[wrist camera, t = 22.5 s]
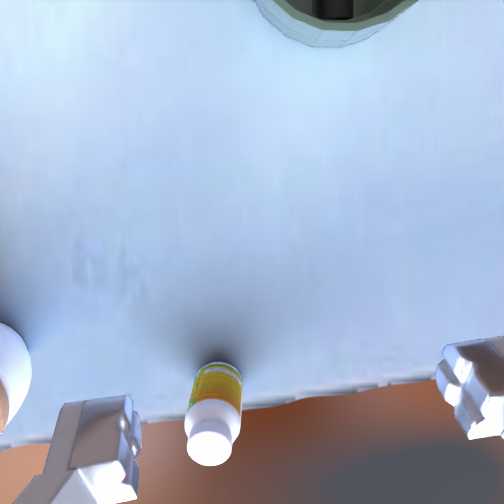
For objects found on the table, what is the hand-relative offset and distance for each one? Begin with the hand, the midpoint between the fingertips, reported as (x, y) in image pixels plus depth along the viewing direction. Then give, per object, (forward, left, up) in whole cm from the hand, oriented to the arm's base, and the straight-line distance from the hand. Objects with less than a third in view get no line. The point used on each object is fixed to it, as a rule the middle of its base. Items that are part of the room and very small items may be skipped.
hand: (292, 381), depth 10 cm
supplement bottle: (+14, -16, -29) cm, 36 cm away
